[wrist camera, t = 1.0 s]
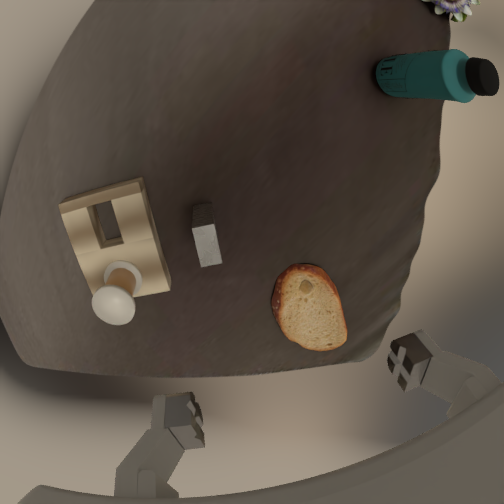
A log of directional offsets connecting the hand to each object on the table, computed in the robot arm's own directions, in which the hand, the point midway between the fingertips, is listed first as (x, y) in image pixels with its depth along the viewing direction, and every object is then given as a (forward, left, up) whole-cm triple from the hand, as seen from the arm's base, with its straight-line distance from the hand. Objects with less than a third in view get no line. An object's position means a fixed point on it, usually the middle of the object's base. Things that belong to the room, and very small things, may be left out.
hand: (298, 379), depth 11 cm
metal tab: (+5, -4, -32) cm, 32 cm away
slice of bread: (+25, +11, -33) cm, 43 cm away
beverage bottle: (-13, +25, -32) cm, 43 cm away
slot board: (+5, -17, -32) cm, 36 cm away
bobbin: (+10, -17, -29) cm, 35 cm away
